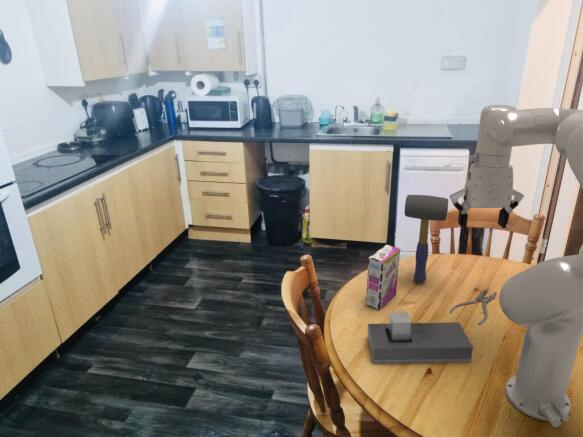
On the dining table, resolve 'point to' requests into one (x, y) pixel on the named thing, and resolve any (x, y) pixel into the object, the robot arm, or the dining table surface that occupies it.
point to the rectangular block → (421, 344)
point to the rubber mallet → (424, 225)
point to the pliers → (479, 299)
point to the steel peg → (399, 327)
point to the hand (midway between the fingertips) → (482, 226)
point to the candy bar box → (382, 276)
